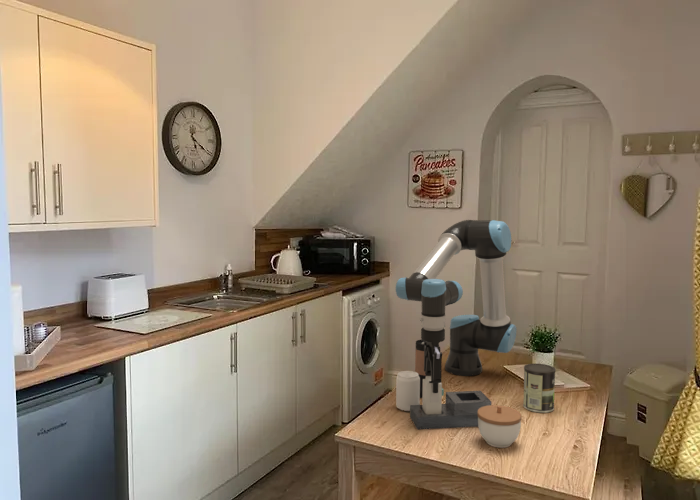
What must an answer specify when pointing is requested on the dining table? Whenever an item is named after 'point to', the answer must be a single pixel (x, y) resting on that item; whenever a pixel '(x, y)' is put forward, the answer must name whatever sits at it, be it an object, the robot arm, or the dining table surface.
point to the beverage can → (407, 390)
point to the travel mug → (420, 363)
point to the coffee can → (539, 388)
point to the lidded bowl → (499, 425)
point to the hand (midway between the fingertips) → (432, 398)
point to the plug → (426, 405)
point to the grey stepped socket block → (452, 411)
